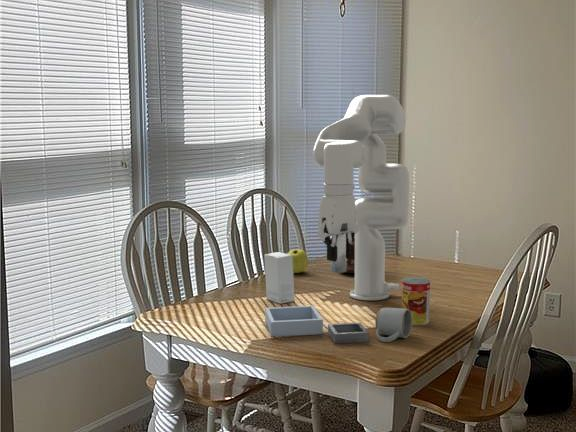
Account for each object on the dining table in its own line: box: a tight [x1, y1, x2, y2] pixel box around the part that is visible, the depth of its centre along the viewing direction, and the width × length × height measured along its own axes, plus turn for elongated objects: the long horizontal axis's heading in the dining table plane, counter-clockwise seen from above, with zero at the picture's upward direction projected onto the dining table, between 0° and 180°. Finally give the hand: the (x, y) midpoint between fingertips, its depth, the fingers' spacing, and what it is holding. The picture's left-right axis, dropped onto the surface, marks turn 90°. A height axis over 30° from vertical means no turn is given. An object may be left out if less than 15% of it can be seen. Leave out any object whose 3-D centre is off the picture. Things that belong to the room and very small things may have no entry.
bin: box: [264, 305, 324, 337], centre depth 208 cm, size 14×14×4 cm
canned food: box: [401, 276, 431, 326], centre depth 212 cm, size 8×8×12 cm
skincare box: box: [263, 251, 296, 304], centre depth 236 cm, size 8×6×15 cm
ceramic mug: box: [374, 307, 413, 343], centre depth 199 cm, size 11×8×8 cm
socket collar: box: [327, 322, 370, 345], centre depth 199 cm, size 9×9×2 cm
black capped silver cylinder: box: [330, 223, 348, 274], centre depth 197 cm, size 5×5×13 cm
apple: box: [286, 248, 309, 274], centre depth 273 cm, size 8×8×10 cm
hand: (338, 258), depth 198 cm, fingers closed on black capped silver cylinder, 4 cm apart
